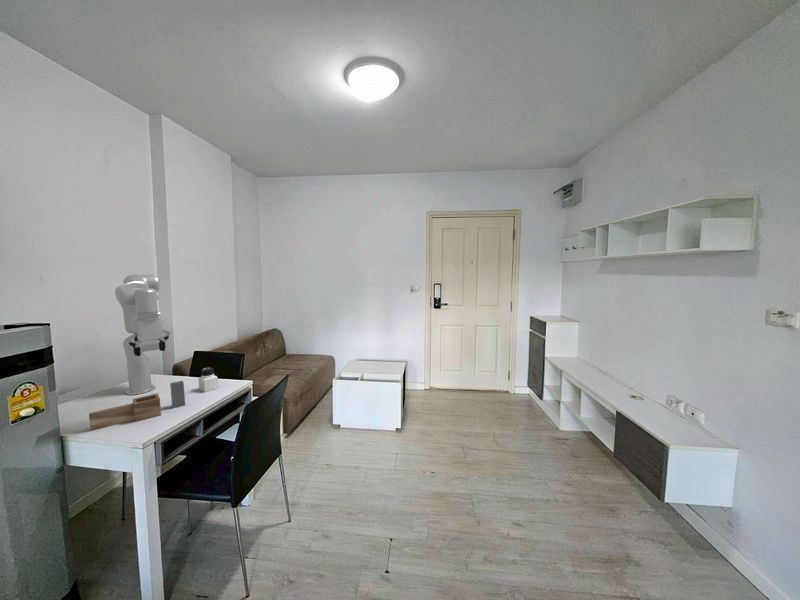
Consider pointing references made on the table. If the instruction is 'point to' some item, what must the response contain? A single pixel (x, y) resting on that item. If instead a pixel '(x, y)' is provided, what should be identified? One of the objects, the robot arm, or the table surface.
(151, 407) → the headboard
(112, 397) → the table surface
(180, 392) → the grey upright block
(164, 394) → the table surface
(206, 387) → the medicine bottle
